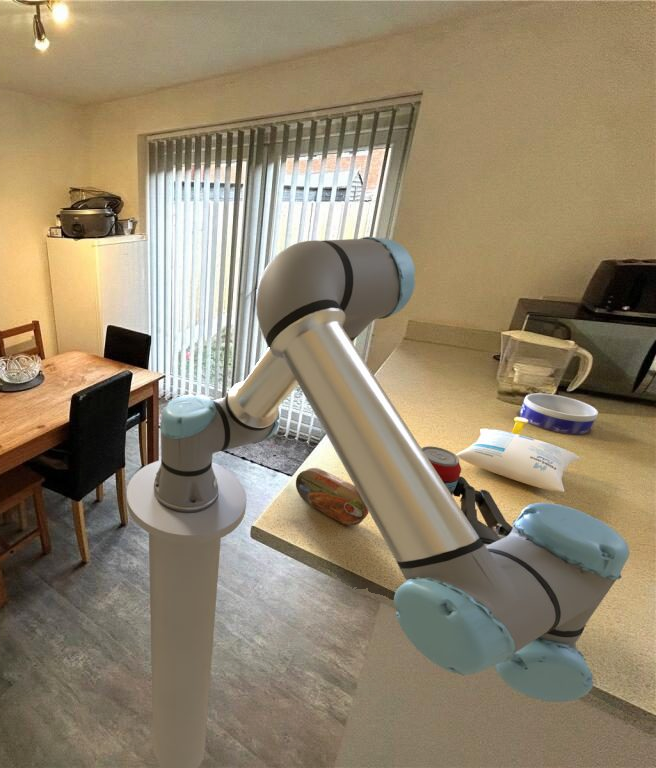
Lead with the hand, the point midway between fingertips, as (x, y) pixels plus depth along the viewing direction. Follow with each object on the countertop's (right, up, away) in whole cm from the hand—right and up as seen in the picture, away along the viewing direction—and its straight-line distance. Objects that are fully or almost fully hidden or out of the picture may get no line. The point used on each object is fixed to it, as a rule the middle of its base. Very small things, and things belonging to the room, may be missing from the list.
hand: (421, 464), depth 72 cm
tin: (-12, -13, +12) cm, 21 cm away
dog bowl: (+72, +3, +45) cm, 85 cm away
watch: (+53, 0, +38) cm, 65 cm away
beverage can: (-1, -8, -2) cm, 8 cm away
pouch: (+39, -6, +24) cm, 47 cm away
